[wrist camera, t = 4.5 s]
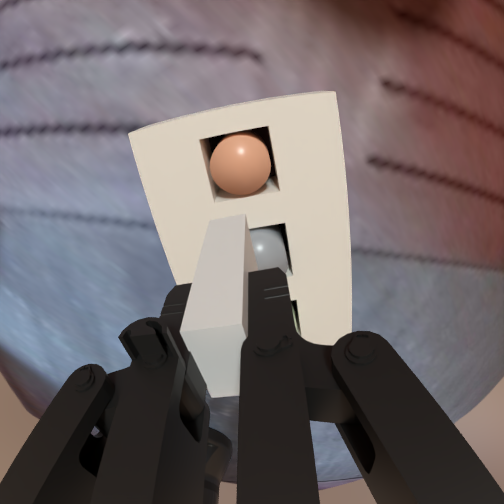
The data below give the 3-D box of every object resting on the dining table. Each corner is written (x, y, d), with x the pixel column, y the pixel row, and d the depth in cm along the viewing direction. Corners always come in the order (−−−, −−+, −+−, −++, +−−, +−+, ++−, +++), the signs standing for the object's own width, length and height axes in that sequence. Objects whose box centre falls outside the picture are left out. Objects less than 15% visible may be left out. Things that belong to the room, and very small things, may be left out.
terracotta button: (271, 173, 25) (275, 189, 21) (222, 182, 25) (217, 199, 22) (262, 124, 23) (264, 131, 19) (211, 134, 23) (203, 143, 20)
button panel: (342, 315, 32) (351, 341, 29) (212, 335, 33) (208, 362, 30) (322, 90, 22) (335, 91, 18) (145, 126, 23) (128, 133, 19)
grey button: (286, 257, 27) (291, 284, 24) (239, 264, 27) (237, 292, 24) (278, 213, 25) (283, 236, 22) (229, 222, 25) (225, 246, 22)
